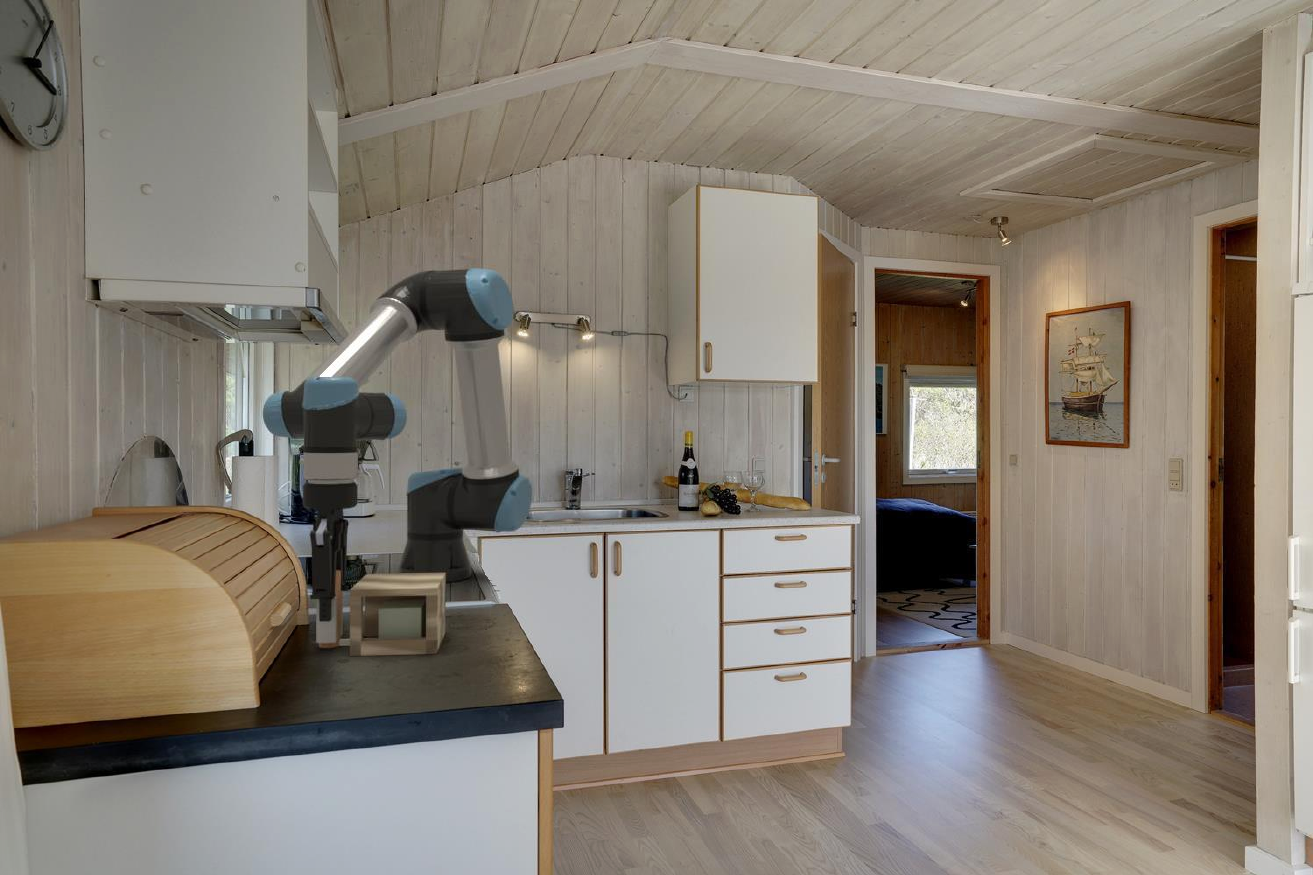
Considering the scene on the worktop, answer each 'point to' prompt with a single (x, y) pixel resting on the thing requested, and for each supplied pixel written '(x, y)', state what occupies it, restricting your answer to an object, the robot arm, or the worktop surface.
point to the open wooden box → (394, 589)
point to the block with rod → (388, 618)
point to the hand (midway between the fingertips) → (329, 638)
